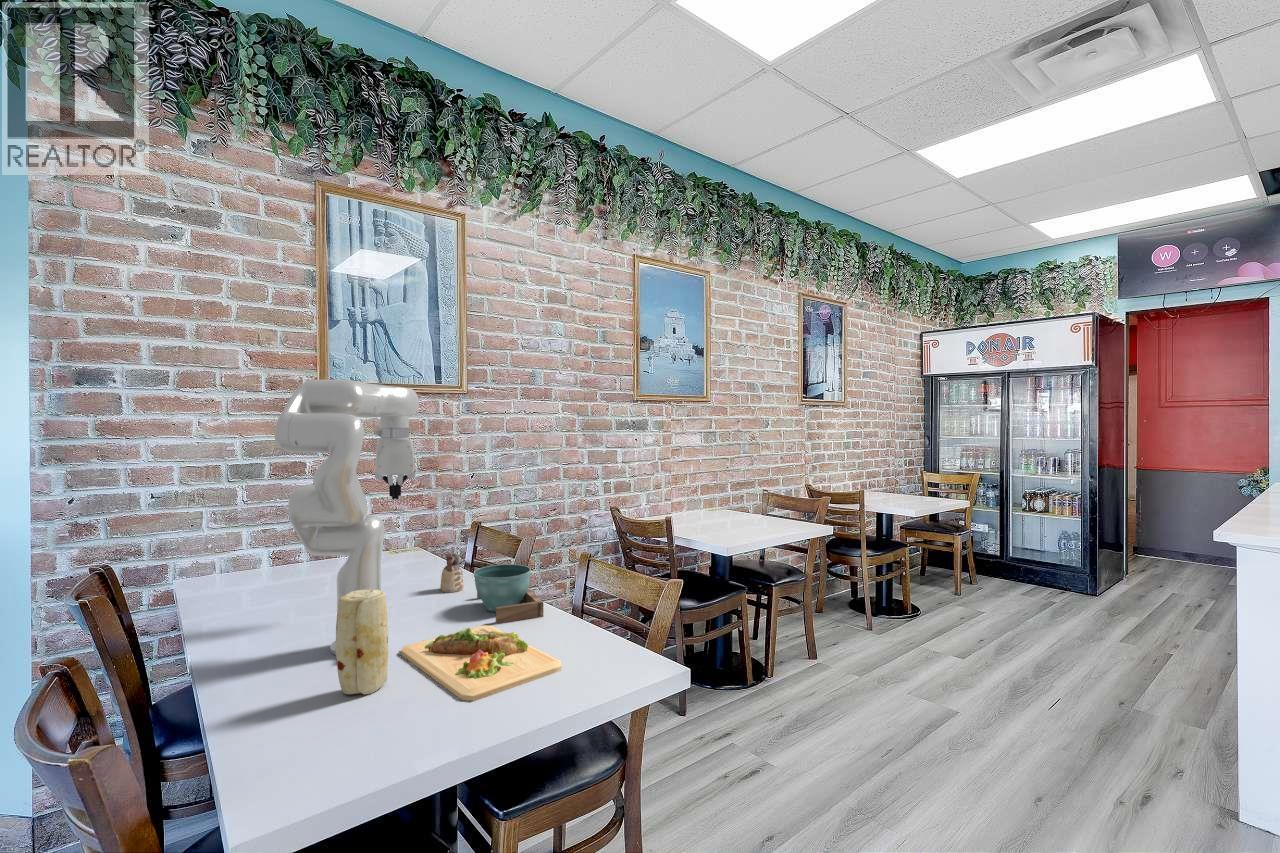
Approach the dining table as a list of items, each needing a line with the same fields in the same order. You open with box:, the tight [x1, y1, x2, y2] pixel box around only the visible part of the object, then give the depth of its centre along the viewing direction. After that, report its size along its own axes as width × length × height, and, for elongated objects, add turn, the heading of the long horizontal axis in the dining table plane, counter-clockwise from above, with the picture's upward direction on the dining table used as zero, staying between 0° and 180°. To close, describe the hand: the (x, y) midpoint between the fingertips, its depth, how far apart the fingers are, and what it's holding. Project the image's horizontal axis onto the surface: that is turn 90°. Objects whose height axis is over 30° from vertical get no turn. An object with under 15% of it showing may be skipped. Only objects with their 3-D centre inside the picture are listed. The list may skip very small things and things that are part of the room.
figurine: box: [440, 552, 465, 594], centre depth 190 cm, size 7×7×12 cm
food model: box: [335, 590, 389, 695], centre depth 119 cm, size 10×7×20 cm
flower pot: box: [473, 563, 532, 613], centre depth 172 cm, size 16×16×11 cm
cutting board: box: [400, 625, 562, 702], centre depth 134 cm, size 35×23×8 cm
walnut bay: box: [476, 588, 544, 625], centre depth 172 cm, size 26×13×4 cm, turn 27°
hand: (395, 498), depth 168 cm, fingers closed
